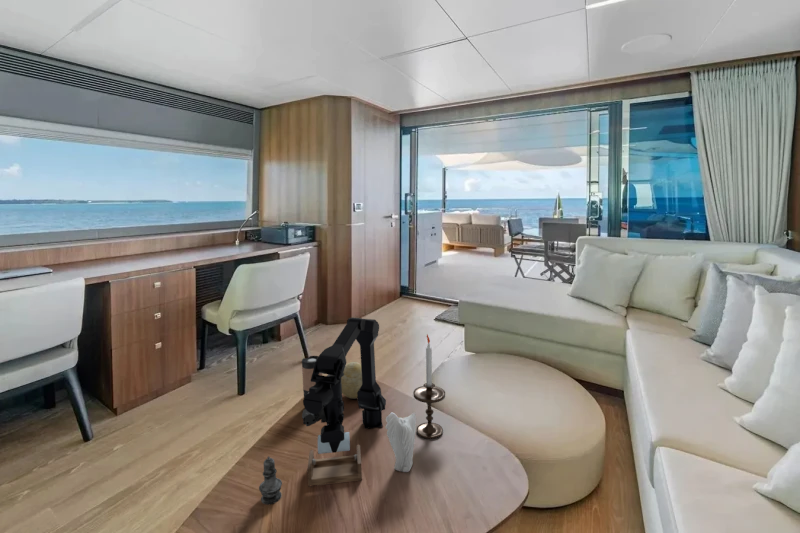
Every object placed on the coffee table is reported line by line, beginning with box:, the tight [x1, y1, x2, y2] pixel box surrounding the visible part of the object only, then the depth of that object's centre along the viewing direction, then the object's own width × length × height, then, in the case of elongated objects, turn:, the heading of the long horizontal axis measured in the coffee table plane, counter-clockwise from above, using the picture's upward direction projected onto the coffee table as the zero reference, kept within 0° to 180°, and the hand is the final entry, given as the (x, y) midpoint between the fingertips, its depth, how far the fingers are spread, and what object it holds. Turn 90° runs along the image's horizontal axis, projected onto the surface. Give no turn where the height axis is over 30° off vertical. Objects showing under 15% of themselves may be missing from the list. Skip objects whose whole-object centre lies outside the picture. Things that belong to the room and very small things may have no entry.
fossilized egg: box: [341, 361, 362, 400], centre depth 159 cm, size 13×13×15 cm
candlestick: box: [412, 333, 446, 440], centre depth 131 cm, size 11×11×35 cm
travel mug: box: [301, 355, 323, 398], centre depth 151 cm, size 8×8×20 cm
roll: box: [317, 431, 351, 455], centre depth 112 cm, size 9×5×5 cm, turn 98°
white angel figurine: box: [385, 411, 417, 473], centre depth 114 cm, size 8×8×18 cm
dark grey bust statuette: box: [258, 455, 283, 506], centre depth 103 cm, size 6×6×12 cm
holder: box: [306, 444, 363, 487], centre depth 113 cm, size 15×9×5 cm, turn 98°
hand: (334, 446), depth 112 cm, fingers closed on roll, 5 cm apart
